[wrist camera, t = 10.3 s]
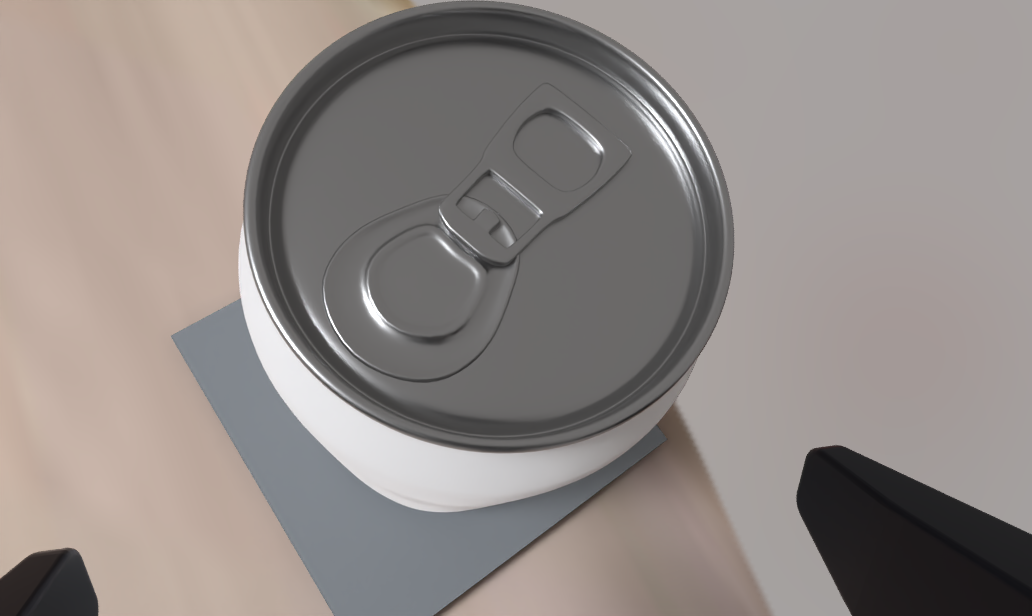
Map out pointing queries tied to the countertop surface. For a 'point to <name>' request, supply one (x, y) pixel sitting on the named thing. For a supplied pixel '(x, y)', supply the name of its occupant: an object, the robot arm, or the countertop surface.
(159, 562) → the countertop surface
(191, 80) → the countertop surface
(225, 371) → the mat
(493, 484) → the can
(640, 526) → the countertop surface
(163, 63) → the countertop surface
